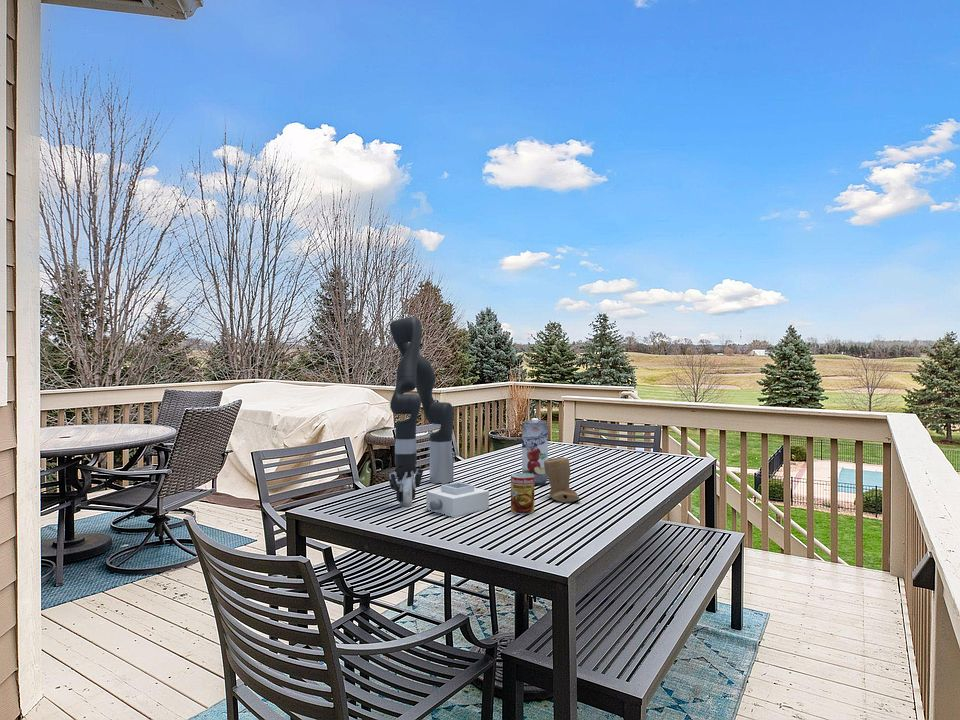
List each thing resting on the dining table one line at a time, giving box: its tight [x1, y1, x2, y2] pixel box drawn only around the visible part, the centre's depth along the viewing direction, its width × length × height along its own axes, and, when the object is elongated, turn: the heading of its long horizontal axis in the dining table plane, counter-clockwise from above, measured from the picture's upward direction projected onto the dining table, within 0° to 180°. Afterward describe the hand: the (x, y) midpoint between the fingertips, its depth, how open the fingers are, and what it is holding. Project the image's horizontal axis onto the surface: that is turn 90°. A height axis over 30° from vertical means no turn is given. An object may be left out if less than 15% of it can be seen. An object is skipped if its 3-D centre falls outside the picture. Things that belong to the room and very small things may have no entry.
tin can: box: [398, 477, 413, 508], centre depth 196 cm, size 4×4×10 cm
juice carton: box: [521, 417, 549, 486], centre depth 232 cm, size 9×10×27 cm
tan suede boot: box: [544, 456, 580, 503], centre depth 206 cm, size 15×12×15 cm
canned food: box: [510, 472, 535, 515], centre depth 189 cm, size 8×8×12 cm
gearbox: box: [425, 481, 490, 518], centre depth 190 cm, size 19×14×8 cm
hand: (405, 500), depth 196 cm, fingers closed on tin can, 4 cm apart
